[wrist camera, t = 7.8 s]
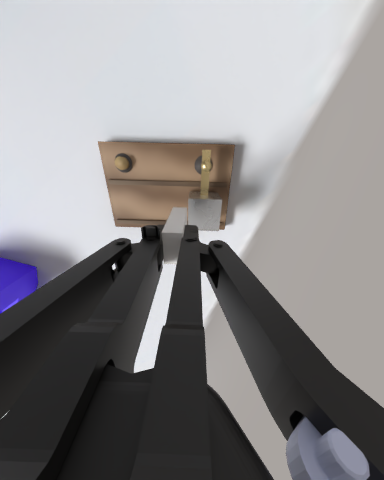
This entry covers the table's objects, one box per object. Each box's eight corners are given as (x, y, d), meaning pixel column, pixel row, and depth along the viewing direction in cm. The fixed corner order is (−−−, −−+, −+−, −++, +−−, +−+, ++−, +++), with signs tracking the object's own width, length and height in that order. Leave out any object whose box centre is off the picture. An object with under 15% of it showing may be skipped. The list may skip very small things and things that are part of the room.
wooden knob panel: (104, 142, 22) (93, 140, 20) (232, 145, 22) (236, 144, 20) (119, 223, 28) (112, 228, 25) (222, 226, 27) (225, 232, 25)
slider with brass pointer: (190, 150, 21) (188, 147, 16) (220, 151, 21) (227, 148, 16) (189, 217, 25) (187, 230, 20) (214, 218, 25) (218, 230, 20)
